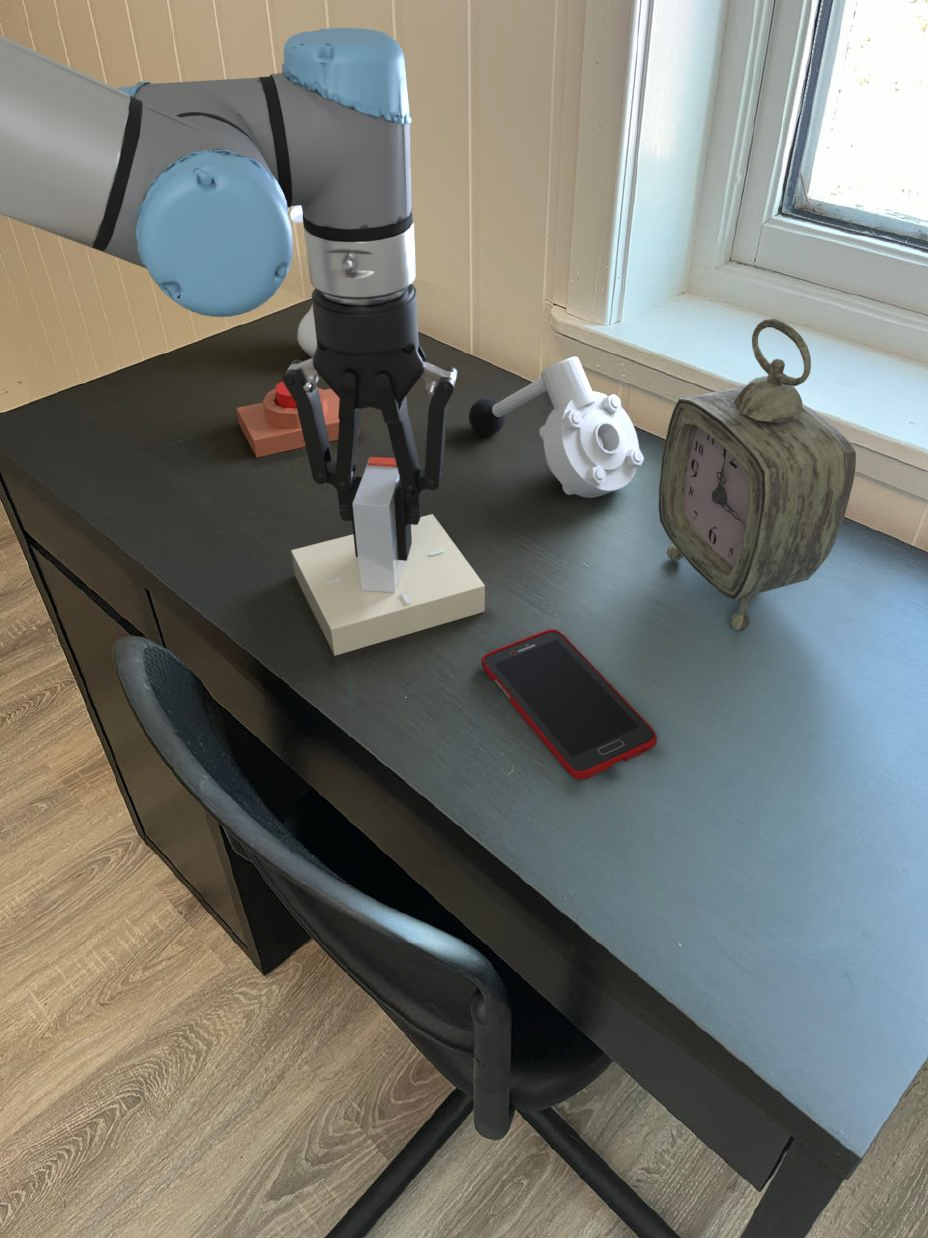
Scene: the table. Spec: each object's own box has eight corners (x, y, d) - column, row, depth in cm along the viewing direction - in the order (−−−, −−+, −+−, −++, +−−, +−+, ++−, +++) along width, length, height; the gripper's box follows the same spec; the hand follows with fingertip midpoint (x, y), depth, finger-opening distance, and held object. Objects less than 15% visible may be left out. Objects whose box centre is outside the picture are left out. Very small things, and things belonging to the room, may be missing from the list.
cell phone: (576, 786, 69) (577, 777, 68) (477, 664, 79) (477, 656, 78) (661, 746, 72) (662, 738, 71) (555, 634, 81) (555, 625, 81)
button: (282, 412, 104) (280, 398, 103) (273, 397, 107) (270, 382, 106) (317, 405, 105) (315, 391, 104) (307, 390, 108) (305, 376, 107)
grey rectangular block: (395, 592, 81) (388, 503, 75) (361, 590, 82) (352, 501, 75) (408, 544, 86) (403, 457, 80) (376, 542, 87) (369, 455, 81)
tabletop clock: (647, 553, 90) (686, 297, 74) (729, 532, 93) (783, 280, 76) (732, 648, 80) (798, 376, 64) (821, 623, 83) (907, 354, 66)
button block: (256, 457, 104) (251, 425, 101) (239, 424, 109) (233, 393, 107) (359, 434, 108) (357, 403, 105) (338, 403, 113) (334, 372, 110)
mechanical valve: (594, 501, 92) (533, 356, 90) (489, 541, 106) (435, 417, 105) (660, 469, 97) (603, 333, 96) (551, 511, 112) (501, 393, 111)
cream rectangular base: (334, 656, 80) (330, 628, 78) (294, 575, 88) (290, 548, 86) (485, 611, 84) (485, 584, 82) (433, 539, 92) (432, 512, 90)
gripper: (238, 301, 65) (283, 569, 81) (469, 311, 64) (470, 582, 79) (267, 261, 71) (304, 519, 86) (481, 269, 69) (480, 530, 85)
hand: (384, 549), depth 83 cm, fingers closed on grey rectangular block, 3 cm apart
